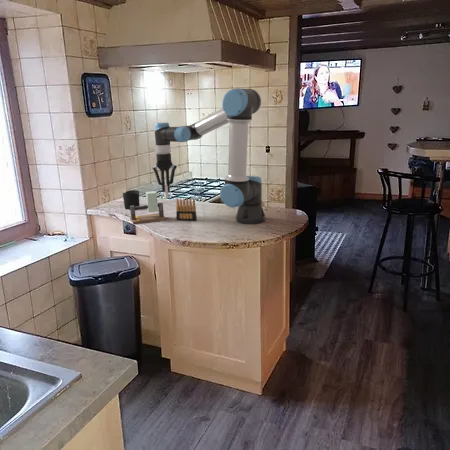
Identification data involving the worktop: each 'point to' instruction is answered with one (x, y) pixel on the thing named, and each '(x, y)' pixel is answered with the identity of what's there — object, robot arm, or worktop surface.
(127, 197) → the pen holder
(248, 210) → the robot arm
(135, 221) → the cord rack
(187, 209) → the ammunition clip
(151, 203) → the sleeve
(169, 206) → the worktop surface
